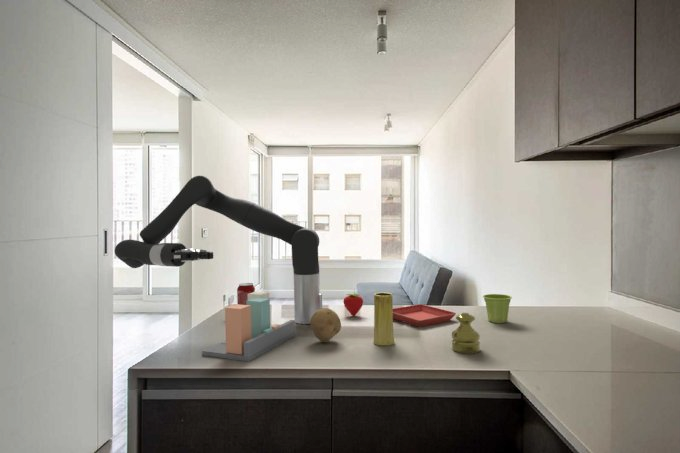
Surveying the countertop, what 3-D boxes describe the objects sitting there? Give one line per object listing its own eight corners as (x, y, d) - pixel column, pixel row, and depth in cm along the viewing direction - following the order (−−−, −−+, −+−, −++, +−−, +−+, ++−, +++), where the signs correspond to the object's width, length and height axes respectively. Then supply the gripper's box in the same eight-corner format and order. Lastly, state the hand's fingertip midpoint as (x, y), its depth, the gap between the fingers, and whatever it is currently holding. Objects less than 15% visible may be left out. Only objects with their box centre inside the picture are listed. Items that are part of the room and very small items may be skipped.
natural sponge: (327, 335, 126) (326, 303, 126) (347, 341, 120) (347, 307, 120) (304, 342, 120) (304, 308, 120) (325, 348, 113) (324, 313, 113)
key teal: (246, 342, 116) (245, 300, 116) (255, 337, 120) (254, 297, 120) (262, 343, 114) (261, 301, 114) (270, 339, 118) (269, 298, 118)
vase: (396, 340, 119) (395, 292, 119) (392, 346, 114) (391, 296, 113) (376, 339, 121) (375, 291, 121) (371, 345, 116) (370, 295, 115)
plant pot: (482, 323, 137) (482, 298, 137) (483, 317, 146) (483, 293, 145) (512, 325, 133) (512, 299, 133) (511, 319, 142) (511, 294, 142)
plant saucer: (457, 321, 142) (457, 312, 141) (419, 329, 132) (419, 319, 132) (421, 312, 157) (421, 303, 157) (384, 319, 147) (384, 310, 147)
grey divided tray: (202, 355, 110) (202, 335, 109) (255, 331, 133) (254, 314, 133) (248, 361, 104) (248, 340, 104) (295, 335, 127) (295, 317, 127)
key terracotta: (225, 352, 107) (224, 307, 107) (236, 347, 112) (235, 304, 111) (241, 354, 105) (240, 308, 105) (251, 349, 110) (250, 305, 109)
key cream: (248, 331, 127) (247, 293, 127) (256, 328, 132) (255, 291, 131) (261, 333, 125) (261, 294, 125) (269, 329, 130) (268, 292, 129)
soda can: (251, 316, 153) (250, 285, 153) (234, 316, 154) (233, 285, 154) (258, 312, 160) (257, 282, 160) (242, 312, 161) (241, 282, 161)
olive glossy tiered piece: (476, 355, 105) (475, 317, 105) (448, 351, 109) (447, 314, 109) (483, 348, 111) (482, 311, 111) (456, 344, 115) (455, 309, 115)
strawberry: (344, 313, 155) (344, 287, 155) (364, 314, 154) (363, 288, 154) (342, 317, 149) (341, 290, 149) (362, 317, 148) (362, 290, 148)
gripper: (151, 244, 124) (196, 244, 117) (183, 241, 136) (225, 242, 129) (152, 268, 124) (196, 270, 117) (184, 264, 136) (225, 265, 129)
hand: (211, 255), depth 123 cm, fingers closed
